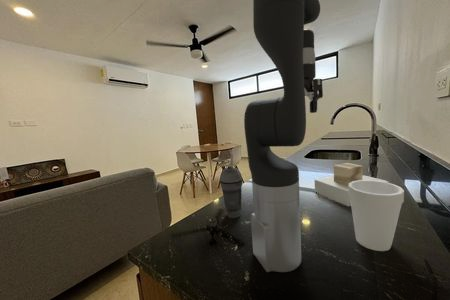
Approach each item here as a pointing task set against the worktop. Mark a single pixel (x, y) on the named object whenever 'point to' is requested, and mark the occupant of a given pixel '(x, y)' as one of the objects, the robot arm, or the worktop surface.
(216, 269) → the worktop surface
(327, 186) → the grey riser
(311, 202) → the worktop surface
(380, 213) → the foam cup
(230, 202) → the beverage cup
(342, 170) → the maple block
